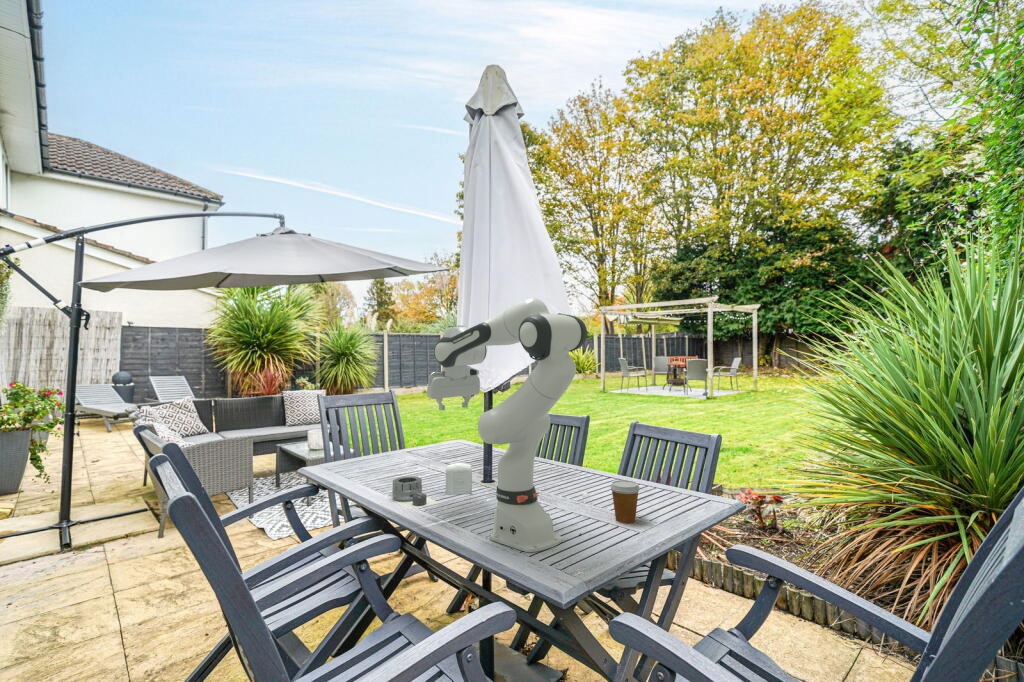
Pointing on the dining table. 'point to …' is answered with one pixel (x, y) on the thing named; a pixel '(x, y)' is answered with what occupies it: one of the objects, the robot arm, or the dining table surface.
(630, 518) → the disposable coffee cup
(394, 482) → the grey castle nut
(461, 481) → the photo printer
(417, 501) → the cap
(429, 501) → the board
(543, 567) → the dining table surface
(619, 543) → the dining table surface
